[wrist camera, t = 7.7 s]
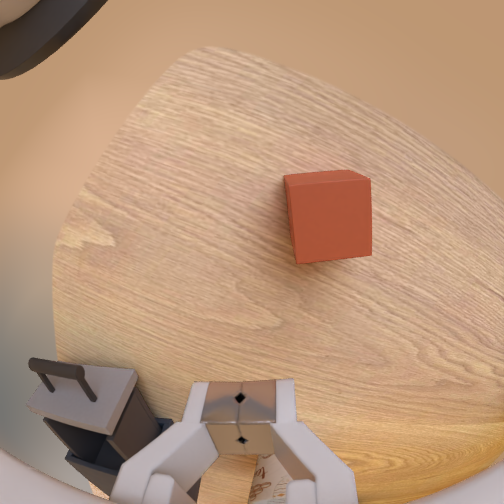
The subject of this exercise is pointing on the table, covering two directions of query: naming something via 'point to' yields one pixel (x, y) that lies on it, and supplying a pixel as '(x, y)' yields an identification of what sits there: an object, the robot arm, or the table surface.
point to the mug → (269, 481)
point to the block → (329, 215)
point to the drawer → (93, 410)
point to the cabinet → (107, 477)
